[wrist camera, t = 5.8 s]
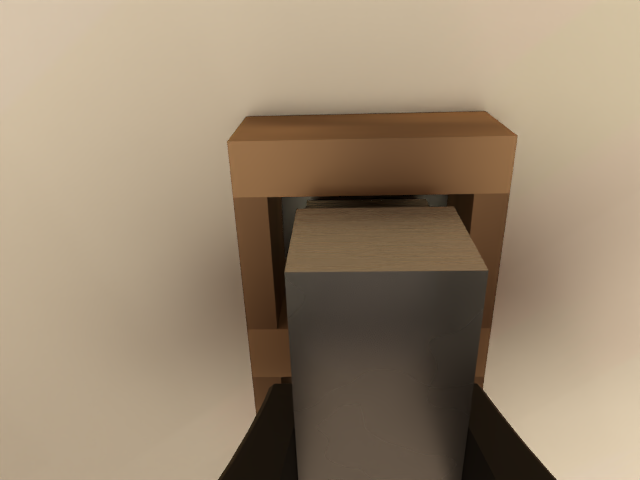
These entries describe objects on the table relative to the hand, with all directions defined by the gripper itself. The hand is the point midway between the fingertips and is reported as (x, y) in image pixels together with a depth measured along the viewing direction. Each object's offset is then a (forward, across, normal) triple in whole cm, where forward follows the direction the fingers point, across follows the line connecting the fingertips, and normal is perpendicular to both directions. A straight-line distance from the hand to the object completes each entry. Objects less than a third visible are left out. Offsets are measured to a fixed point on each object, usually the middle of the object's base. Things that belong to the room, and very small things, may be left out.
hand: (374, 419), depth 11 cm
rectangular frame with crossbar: (+5, 0, 0) cm, 5 cm away
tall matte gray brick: (+4, 0, 0) cm, 4 cm away
